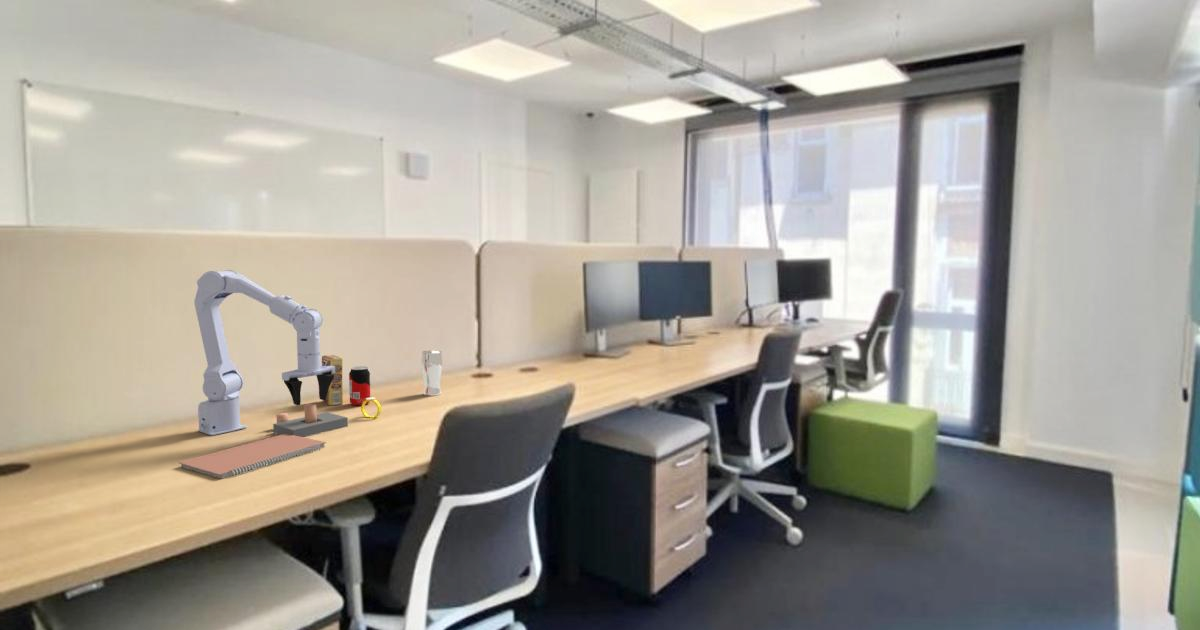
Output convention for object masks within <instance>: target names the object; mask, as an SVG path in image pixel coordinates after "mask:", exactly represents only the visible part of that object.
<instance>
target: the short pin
mask: <svg viewBox="0 0 1200 630" xmlns="http://www.w3.org/2000/svg"><path fill="white" fill-rule="evenodd" d="M289 417H290V416H289V412H281V413H276V423H280V422H285V421H289V420H290V419H289Z"/></svg>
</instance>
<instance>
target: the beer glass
mask: <svg viewBox="0 0 1200 630" xmlns="http://www.w3.org/2000/svg"><path fill="white" fill-rule="evenodd" d="M442 370H443V356H442V350H434V349H432V350H431V349H429V350H424V351H422V352H421V371H422V377H423V382H424V388H423V396H426V397H428V396H429V397H433V396H435V397H436V396H440V395H442V389H441V378H442V377H441V376H442V372H443V371H442Z"/></svg>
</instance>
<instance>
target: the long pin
mask: <svg viewBox="0 0 1200 630" xmlns="http://www.w3.org/2000/svg"><path fill="white" fill-rule="evenodd" d="M317 410H318V409H317V403H307V404H304V417H305V423H307V424H309V423H314V422H317V414H318V413H317Z"/></svg>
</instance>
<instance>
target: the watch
mask: <svg viewBox="0 0 1200 630" xmlns="http://www.w3.org/2000/svg"><path fill="white" fill-rule="evenodd" d="M367 401H368V402H369V403H370V402H373V403H374V404H375V405H376V408H377V412H376V415H369V414H368V413H367V411H366V409H365V407H366V405H365V404H366V402H367ZM360 407H361V409H360V410H361V413H362V416H364V417H365V418H366V417H370V418H371V419H376V418H378V417H379V416H380V415H381V413H382V406H381V403H380V402H379V400H377V399H376V397H374V396H373V397H371V396H370V398H366V400H365V401H364V402H363V403H362V406H360ZM370 418H369V419H370Z"/></svg>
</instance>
